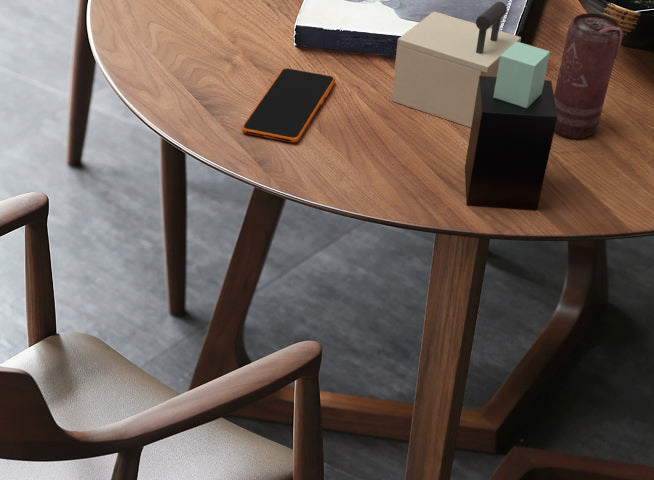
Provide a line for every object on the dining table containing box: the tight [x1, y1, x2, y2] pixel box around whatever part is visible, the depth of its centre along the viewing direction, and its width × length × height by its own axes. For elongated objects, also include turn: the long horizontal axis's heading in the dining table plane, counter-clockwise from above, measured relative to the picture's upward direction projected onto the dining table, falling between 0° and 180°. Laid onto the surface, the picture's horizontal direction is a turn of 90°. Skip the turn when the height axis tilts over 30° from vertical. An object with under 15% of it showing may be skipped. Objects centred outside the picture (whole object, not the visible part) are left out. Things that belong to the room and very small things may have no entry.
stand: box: [464, 76, 557, 211], centre depth 121 cm, size 8×8×12 cm
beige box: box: [391, 44, 499, 129], centre depth 138 cm, size 12×10×8 cm
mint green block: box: [493, 41, 551, 108], centre depth 116 cm, size 4×4×5 cm
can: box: [553, 12, 623, 140], centre depth 131 cm, size 6×6×14 cm
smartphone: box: [241, 67, 336, 143], centre depth 137 cm, size 8×17×1 cm, turn 161°
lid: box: [396, 1, 522, 73], centre depth 133 cm, size 12×10×6 cm
